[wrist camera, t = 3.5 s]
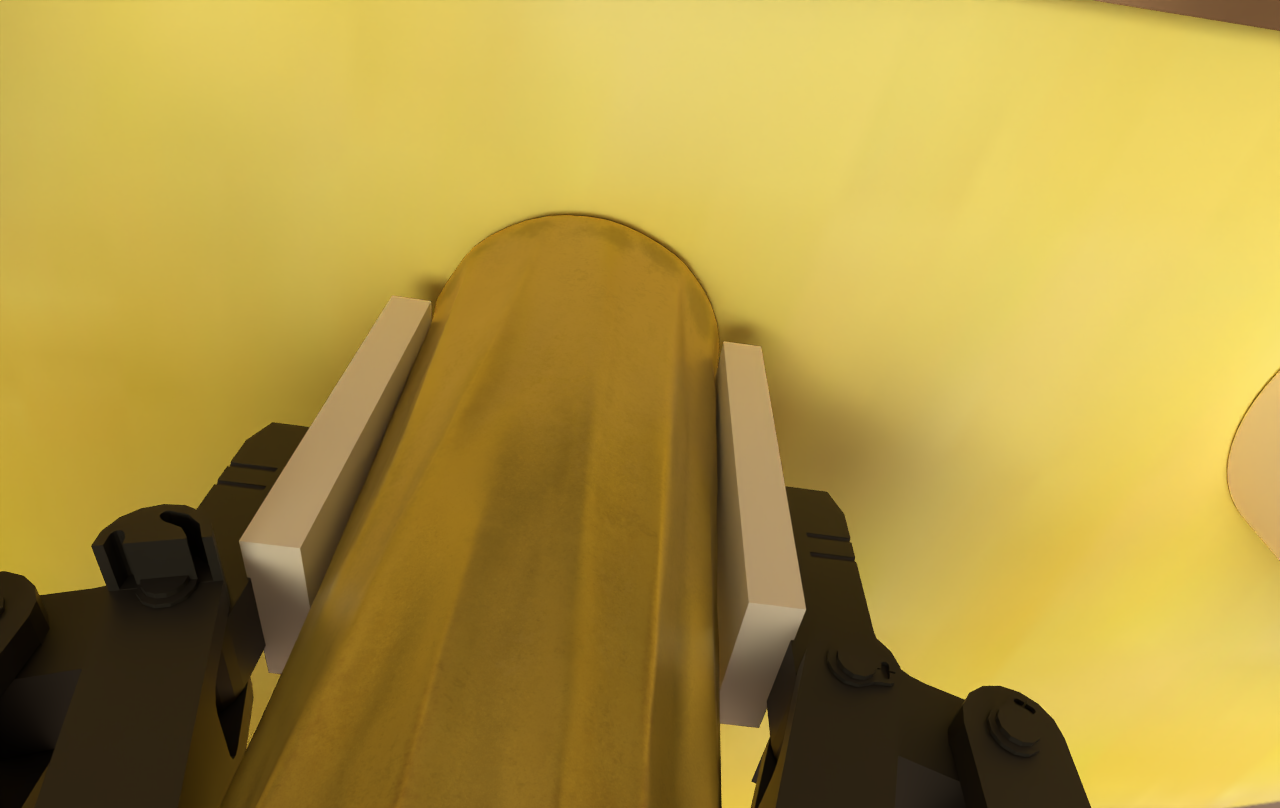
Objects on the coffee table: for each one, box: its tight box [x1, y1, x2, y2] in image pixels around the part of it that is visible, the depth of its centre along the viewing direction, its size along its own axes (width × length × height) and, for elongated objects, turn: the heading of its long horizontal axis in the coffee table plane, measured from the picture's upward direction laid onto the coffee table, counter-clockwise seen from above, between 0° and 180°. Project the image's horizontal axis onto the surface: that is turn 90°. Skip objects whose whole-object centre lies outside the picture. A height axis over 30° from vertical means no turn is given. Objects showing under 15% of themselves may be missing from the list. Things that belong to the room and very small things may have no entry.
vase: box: [220, 215, 722, 808], centre depth 11 cm, size 6×6×14 cm
